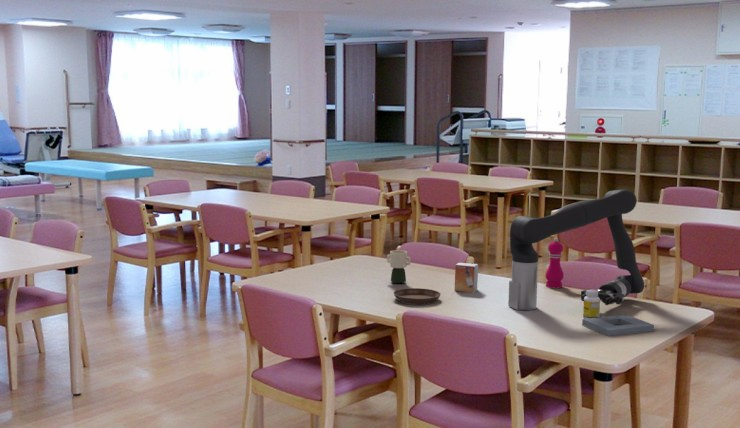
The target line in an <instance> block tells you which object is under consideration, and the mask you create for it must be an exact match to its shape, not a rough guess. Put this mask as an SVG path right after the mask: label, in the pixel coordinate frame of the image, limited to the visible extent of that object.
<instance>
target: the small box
mask: <svg viewBox="0 0 740 428" xmlns="http://www.w3.org/2000/svg"><path fill="white" fill-rule="evenodd" d="M478 277H479V264H478V263H470V262H469V263H468V262H467V263H465V262H457V263H456V264H455V269H454V291H456V292H457V291H458V292H466V293H472V292H474V293H475V292H476V291H477V290H478Z"/></svg>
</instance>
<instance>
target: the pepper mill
mask: <svg viewBox="0 0 740 428" xmlns="http://www.w3.org/2000/svg"><path fill="white" fill-rule="evenodd" d="M547 251H548V252H549V253H548V257H549V264H548V267H547V269H546V272H545V276H544V277H545V278H546V280H547V281H546V282H545V283H546V287H547V288H549V287H552V288H551V289H560V288H562V287H563V282H562V280H564V271H563V268H562V266H561V258H562V255H563V254H562V252H564V245H563V243H562V242H560V241H559V238H558V237H554V238H553V241H551V242H550V243H549V244H548V247H547Z"/></svg>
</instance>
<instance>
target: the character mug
mask: <svg viewBox="0 0 740 428" xmlns="http://www.w3.org/2000/svg"><path fill="white" fill-rule="evenodd" d="M411 261H412V260H411V257H410V256H408V251H407V250H401V249H396V250H390V251H389V254H387V255H386V262H387V263H389V266H390V268H392V269H391V275H390V281H391V283H394V284H402V283H406V282H407V277H406V276H407V274H406V270H405V268H407V266H410V265H411ZM401 282H402V283H401Z"/></svg>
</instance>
